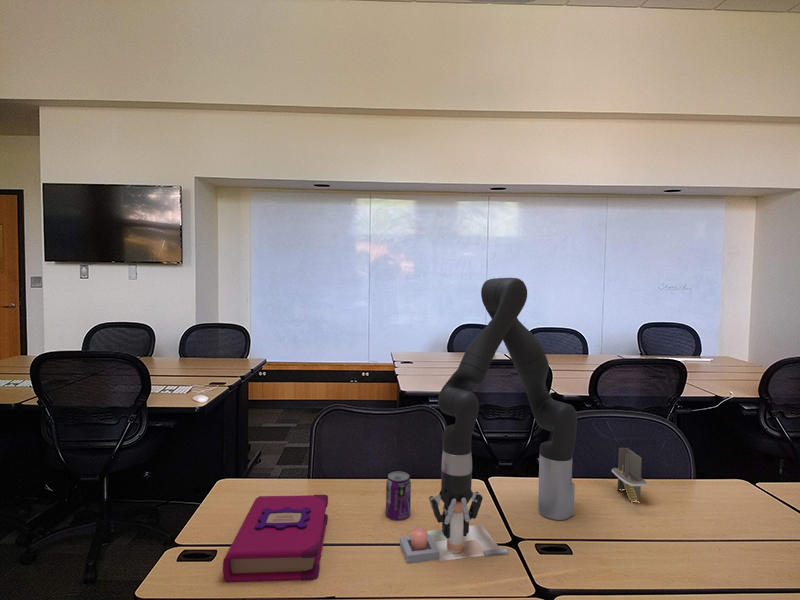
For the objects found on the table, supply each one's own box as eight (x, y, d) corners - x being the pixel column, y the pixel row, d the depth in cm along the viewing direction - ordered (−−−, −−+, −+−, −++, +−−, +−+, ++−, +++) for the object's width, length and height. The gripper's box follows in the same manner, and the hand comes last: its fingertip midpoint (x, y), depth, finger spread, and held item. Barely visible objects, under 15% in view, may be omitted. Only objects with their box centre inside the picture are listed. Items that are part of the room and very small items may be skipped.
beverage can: (407, 524, 128) (408, 482, 128) (383, 521, 129) (383, 479, 129) (412, 512, 135) (412, 472, 135) (388, 509, 136) (389, 469, 136)
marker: (459, 542, 117) (460, 495, 117) (466, 552, 113) (467, 502, 113) (444, 544, 116) (445, 496, 116) (449, 554, 112) (450, 504, 112)
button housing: (429, 543, 119) (429, 534, 119) (439, 561, 111) (439, 551, 111) (399, 547, 117) (399, 537, 117) (407, 566, 109) (407, 555, 109)
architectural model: (615, 517, 134) (617, 468, 134) (581, 480, 159) (582, 439, 159) (682, 518, 134) (684, 469, 134) (637, 481, 159) (639, 440, 159)
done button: (424, 542, 116) (424, 526, 116) (429, 551, 112) (429, 535, 112) (409, 544, 115) (409, 528, 115) (413, 553, 111) (413, 537, 111)
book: (222, 584, 102) (222, 551, 102) (253, 520, 130) (254, 493, 130) (317, 581, 104) (318, 549, 103) (328, 518, 131) (328, 492, 131)
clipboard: (484, 524, 129) (484, 519, 129) (511, 557, 113) (511, 552, 113) (416, 532, 124) (416, 527, 124) (433, 567, 109) (434, 562, 108)
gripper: (477, 460, 119) (475, 525, 120) (425, 464, 116) (423, 530, 117) (489, 472, 112) (487, 540, 113) (434, 476, 109) (432, 547, 110)
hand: (455, 535), depth 115 cm, fingers closed on marker, 4 cm apart
